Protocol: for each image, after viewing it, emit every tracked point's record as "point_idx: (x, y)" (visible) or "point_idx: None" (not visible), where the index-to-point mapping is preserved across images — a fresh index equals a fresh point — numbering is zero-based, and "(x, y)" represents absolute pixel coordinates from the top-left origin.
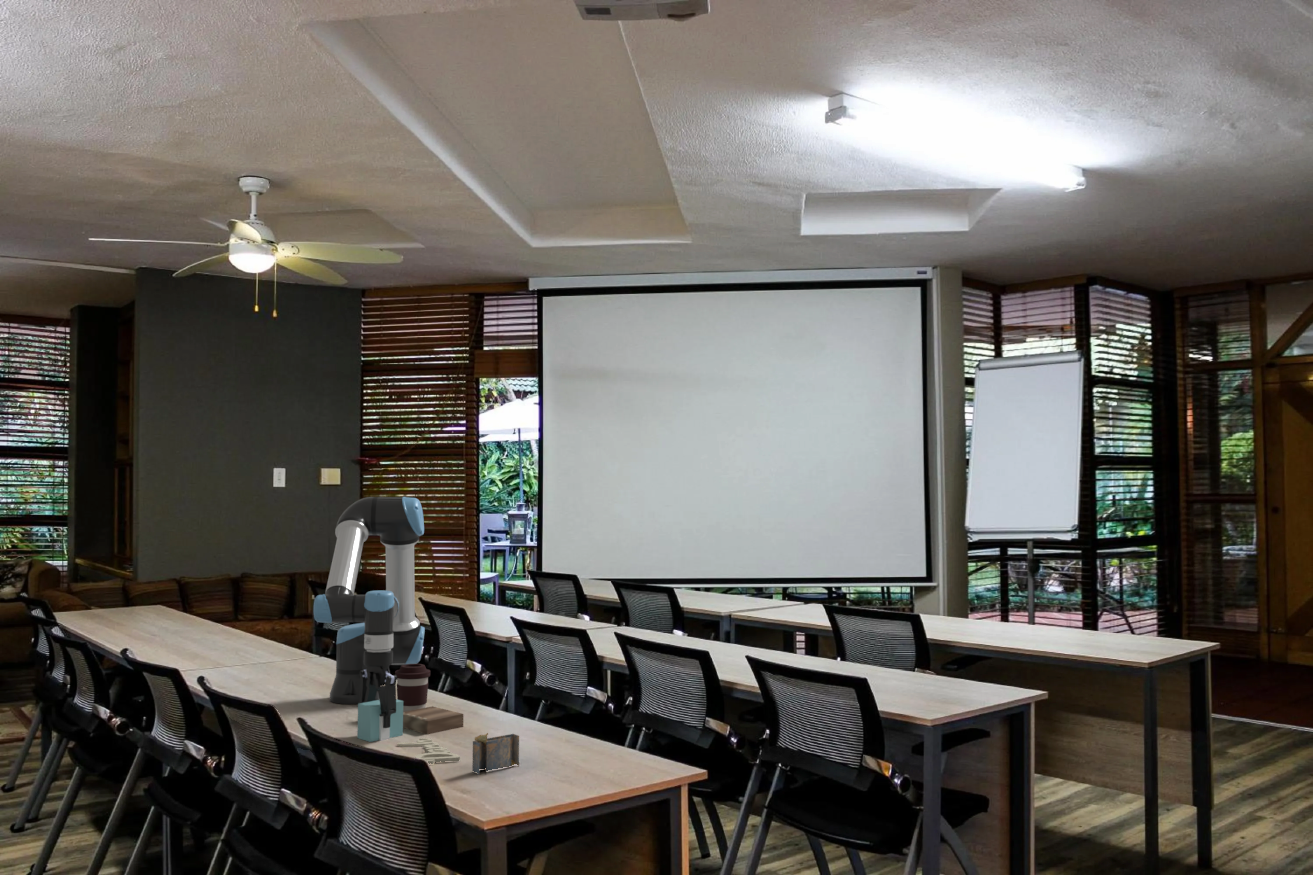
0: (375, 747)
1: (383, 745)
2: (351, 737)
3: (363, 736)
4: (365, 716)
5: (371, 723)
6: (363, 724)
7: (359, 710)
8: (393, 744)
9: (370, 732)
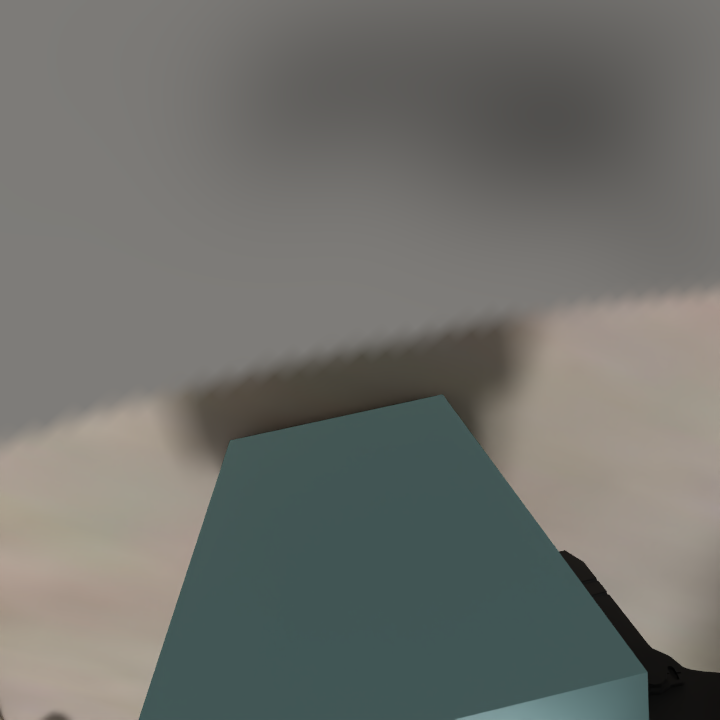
0: (73, 426)
1: (113, 503)
2: (553, 377)
3: (345, 428)
4: (322, 570)
5: (201, 558)
6: (361, 488)
7: (518, 579)
8: (105, 577)
9: (216, 485)
